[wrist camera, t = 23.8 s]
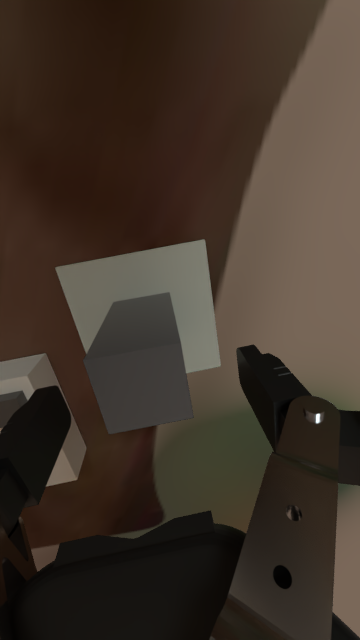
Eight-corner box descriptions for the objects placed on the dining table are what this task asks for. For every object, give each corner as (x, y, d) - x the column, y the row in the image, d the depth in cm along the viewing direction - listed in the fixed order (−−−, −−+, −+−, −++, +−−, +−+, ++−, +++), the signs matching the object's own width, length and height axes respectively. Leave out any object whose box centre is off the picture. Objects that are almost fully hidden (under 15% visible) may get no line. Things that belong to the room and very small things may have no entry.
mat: (57, 266, 17) (55, 267, 16) (203, 239, 17) (204, 239, 16) (100, 387, 20) (99, 390, 20) (219, 363, 21) (220, 366, 20)
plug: (113, 301, 17) (82, 360, 10) (169, 292, 18) (180, 342, 10) (126, 351, 19) (108, 434, 11) (178, 341, 19) (193, 417, 12)
